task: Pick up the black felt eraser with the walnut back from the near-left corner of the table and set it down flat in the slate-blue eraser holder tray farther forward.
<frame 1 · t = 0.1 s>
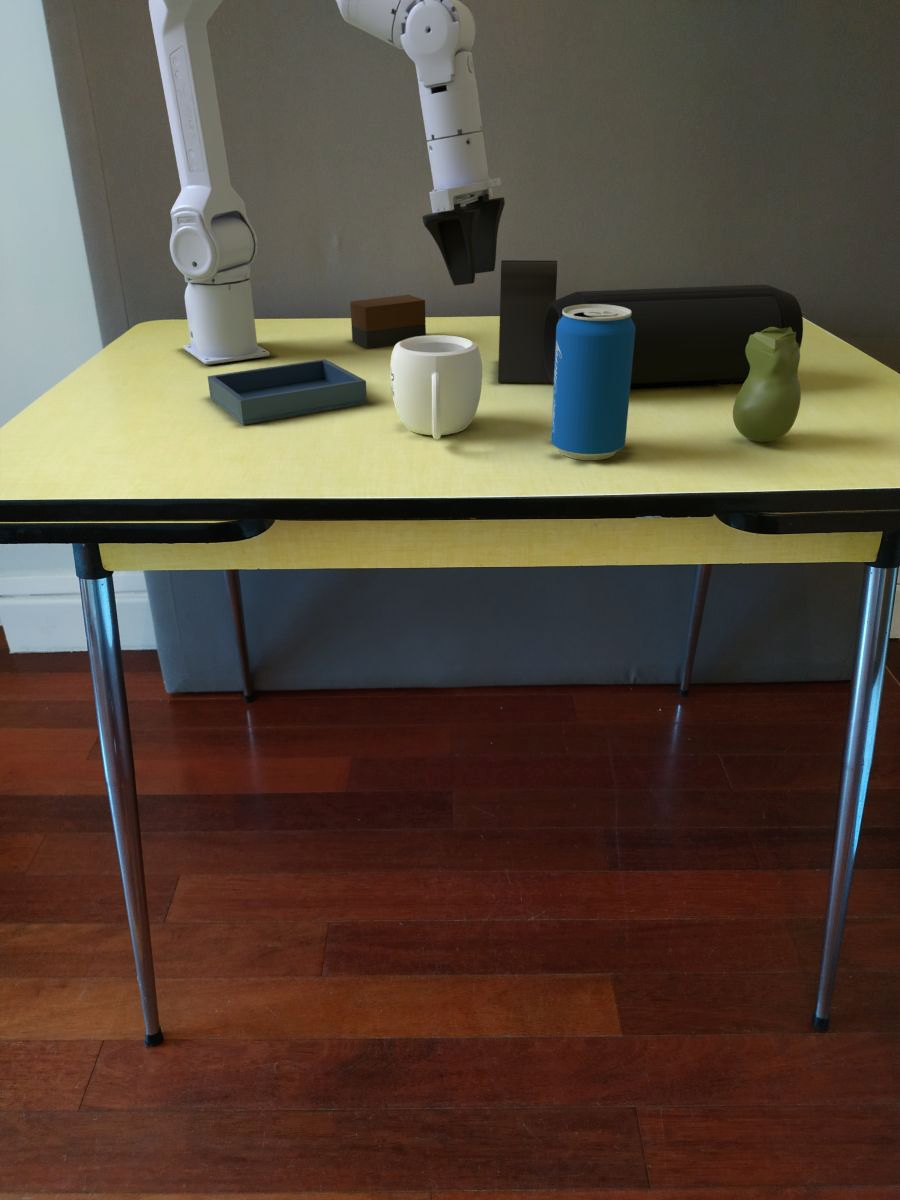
hand: (474, 277, 97), 10 cm above the table, tool pointing down, fingers open, 7 cm apart
pear: (759, 442, 83), on the table
mug: (437, 435, 85), on the table
portable speaker: (664, 386, 98), on the table
holder: (288, 401, 94), on the table
phone stand: (525, 374, 103), on the table
eraser: (389, 340, 117), on the table
beverage can: (587, 452, 80), on the table
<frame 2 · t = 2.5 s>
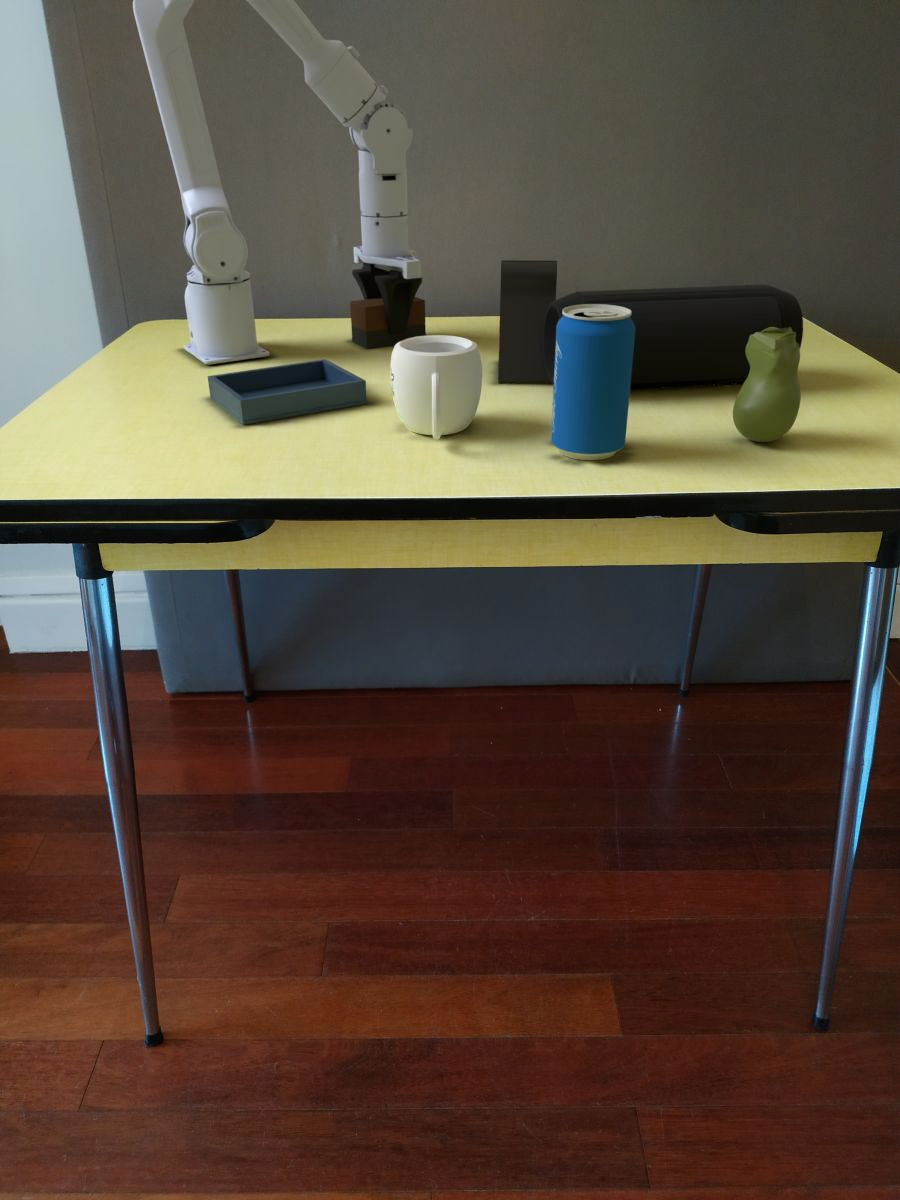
hand: (388, 329, 116), 1 cm above the table, tool pointing down, fingers closed on eraser, 4 cm apart
eraser: (389, 340, 117), on the table, touching gripper
everything else where it was.
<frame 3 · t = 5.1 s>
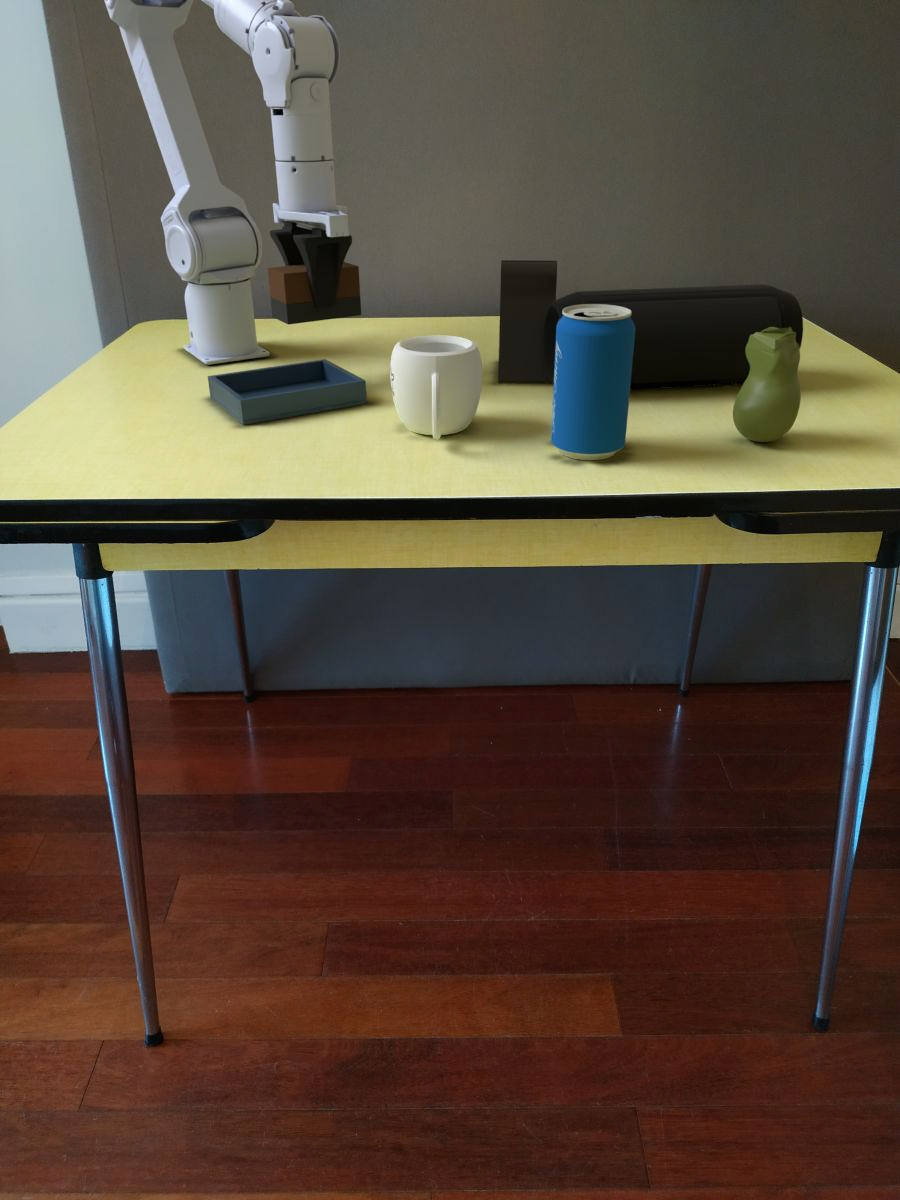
hand: (315, 302, 96), 8 cm above the table, tool pointing down, fingers closed on eraser, 4 cm apart
eraser: (317, 316, 97), point 7 cm above the table, touching gripper
everything else where it was.
when the fingers open (2 cm above the table, at t = 7.7 s): eraser stays where it is, resting on holder.
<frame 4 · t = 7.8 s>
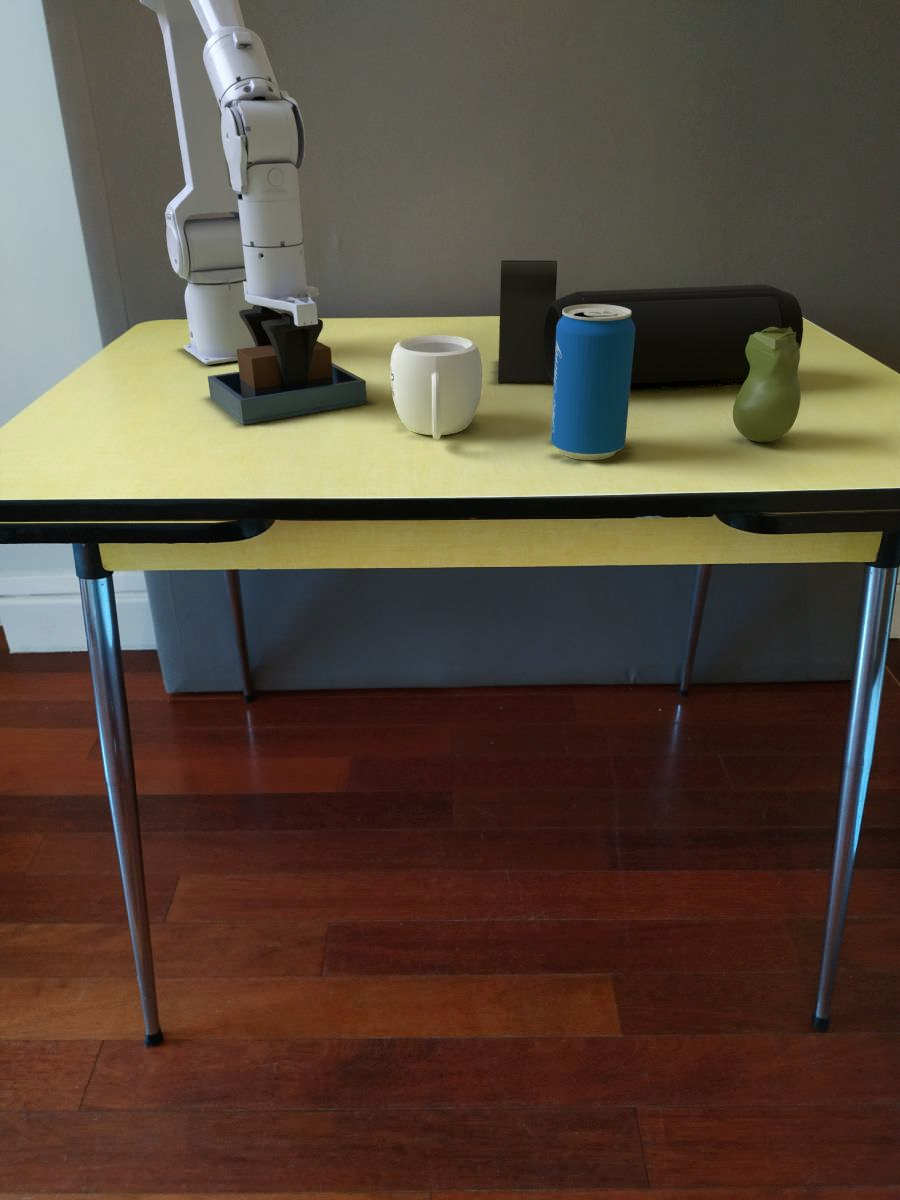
hand: (286, 384, 93), 2 cm above the table, tool pointing down, fingers open, 4 cm apart
eraser: (288, 397, 94), resting on holder
everything else where it was.
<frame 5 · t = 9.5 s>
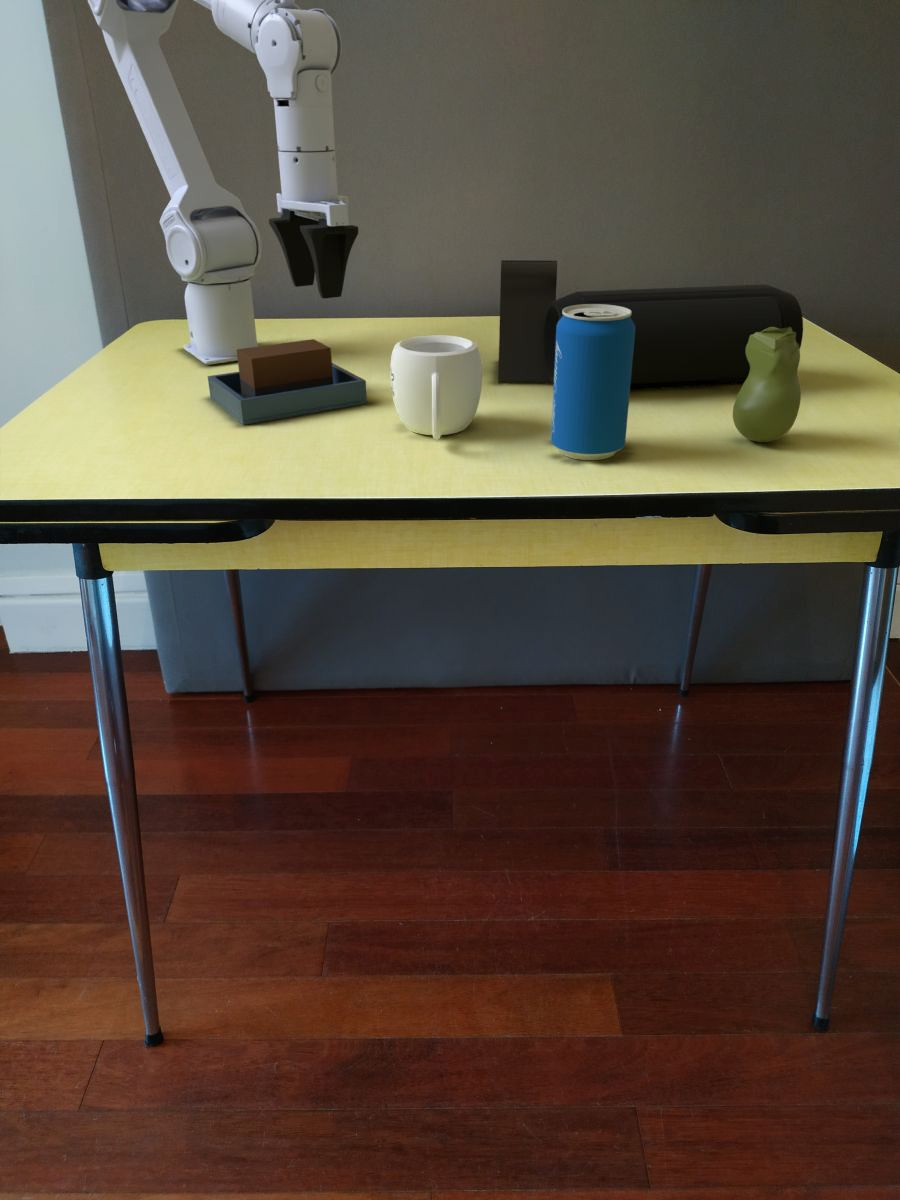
hand: (316, 291, 98), 9 cm above the table, tool pointing down, fingers open, 7 cm apart
nothing on the table moved.
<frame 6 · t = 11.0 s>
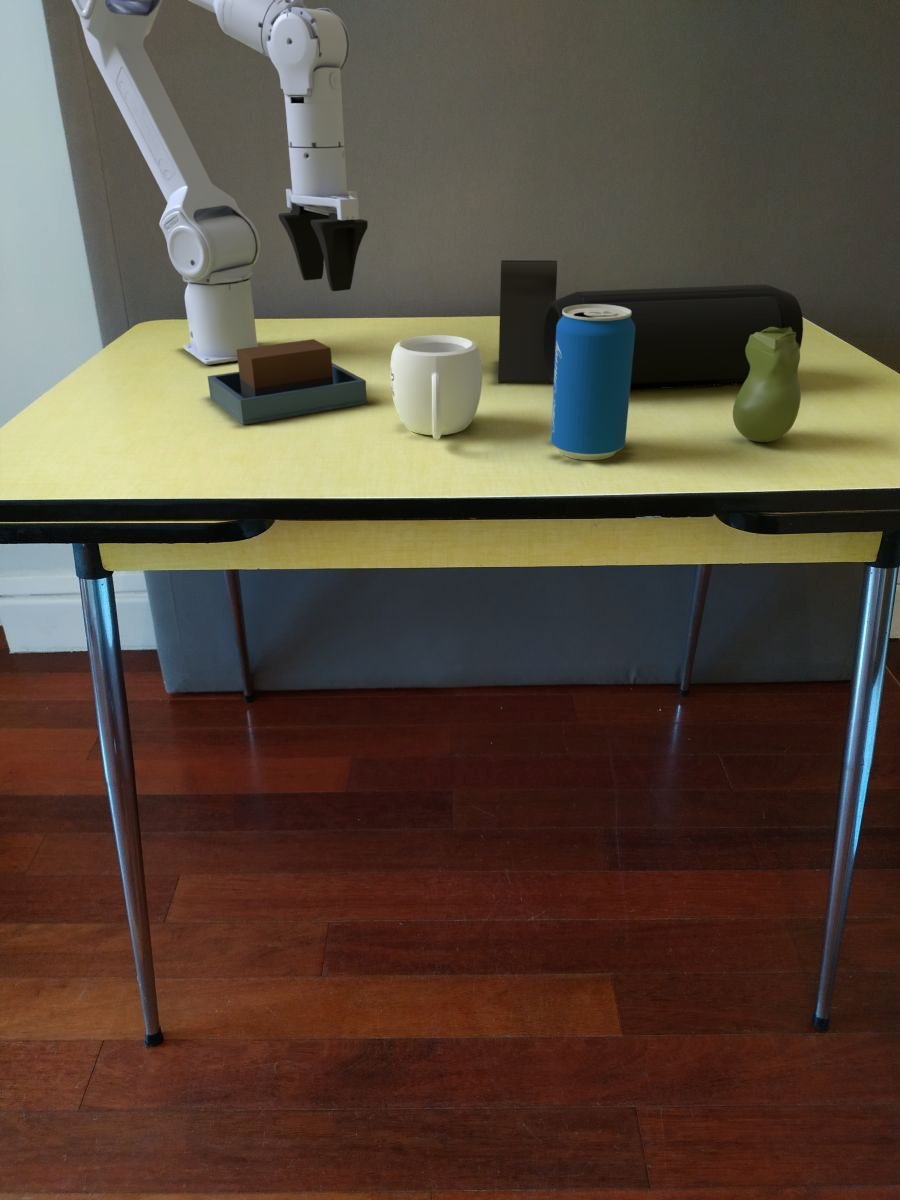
hand: (326, 284, 100), 9 cm above the table, tool pointing down, fingers open, 7 cm apart
nothing on the table moved.
at the end: eraser 0.1 cm off-centre in the holder, point 0.4 cm above the holder's base; eraser tilted 0°; the gripper is holding nothing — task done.
